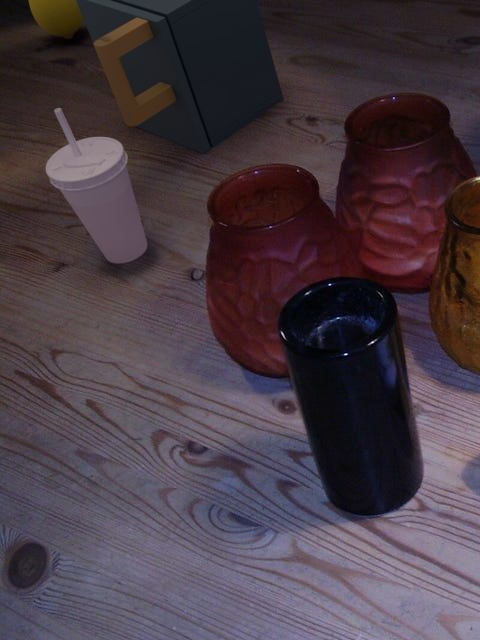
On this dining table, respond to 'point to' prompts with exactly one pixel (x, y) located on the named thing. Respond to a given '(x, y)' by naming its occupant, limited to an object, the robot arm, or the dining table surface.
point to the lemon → (57, 16)
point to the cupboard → (221, 60)
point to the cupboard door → (144, 71)
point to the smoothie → (99, 192)
